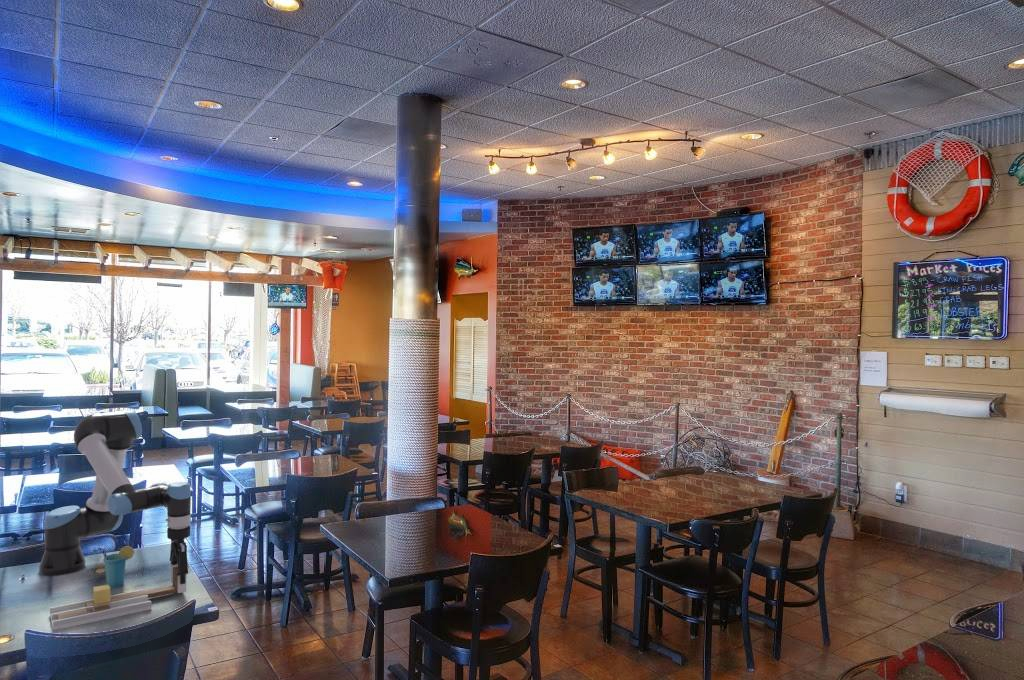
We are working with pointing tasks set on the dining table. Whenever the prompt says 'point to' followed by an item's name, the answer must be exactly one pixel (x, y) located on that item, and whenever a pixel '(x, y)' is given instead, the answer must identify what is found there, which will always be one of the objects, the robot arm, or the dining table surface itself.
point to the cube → (101, 594)
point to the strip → (147, 591)
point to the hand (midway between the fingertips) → (178, 587)
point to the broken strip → (82, 612)
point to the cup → (116, 565)
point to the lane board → (115, 610)
